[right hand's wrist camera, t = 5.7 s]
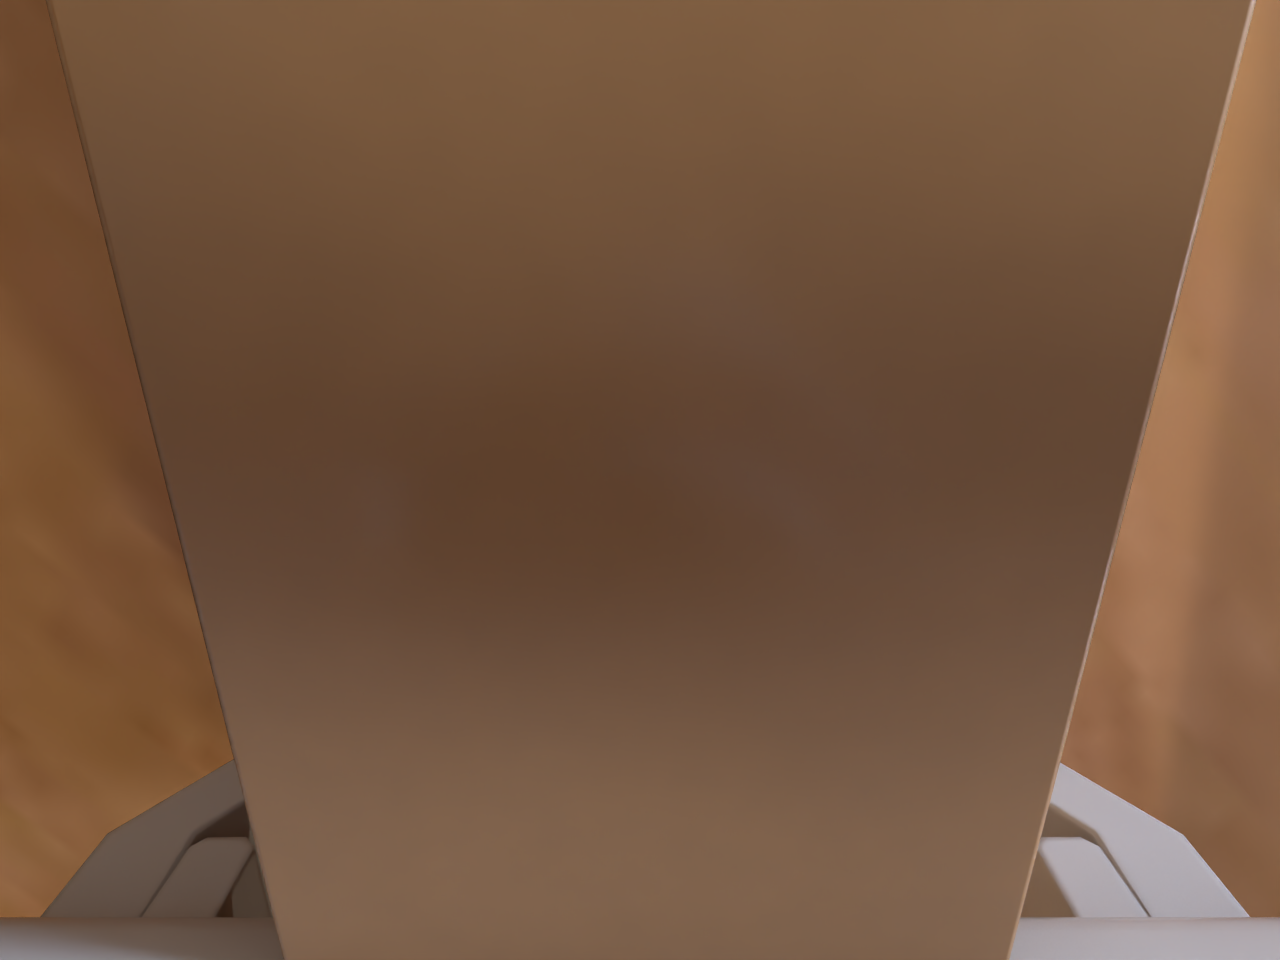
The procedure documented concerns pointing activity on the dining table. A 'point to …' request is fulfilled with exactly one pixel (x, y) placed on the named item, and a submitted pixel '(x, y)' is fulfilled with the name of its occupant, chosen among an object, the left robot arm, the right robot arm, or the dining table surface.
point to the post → (649, 439)
